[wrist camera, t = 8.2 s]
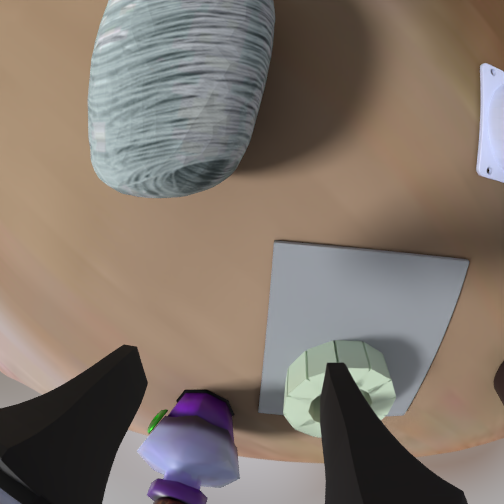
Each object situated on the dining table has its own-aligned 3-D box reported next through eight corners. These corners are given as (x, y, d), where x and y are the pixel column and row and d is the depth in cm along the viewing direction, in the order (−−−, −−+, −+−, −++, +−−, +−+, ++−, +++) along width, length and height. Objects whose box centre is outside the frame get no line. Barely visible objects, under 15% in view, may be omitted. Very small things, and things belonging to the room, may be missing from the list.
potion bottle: (160, 366, 24) (103, 478, 13) (258, 389, 24) (237, 518, 13) (163, 420, 28) (125, 512, 16) (243, 439, 27) (224, 540, 16)
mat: (466, 259, 18) (469, 261, 17) (402, 412, 24) (403, 415, 23) (274, 240, 19) (273, 242, 19) (258, 409, 25) (258, 412, 24)
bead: (399, 341, 20) (410, 368, 17) (369, 411, 23) (374, 436, 20) (292, 337, 21) (292, 365, 18) (280, 408, 24) (278, 435, 21)
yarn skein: (272, 232, 15) (92, 205, 7) (151, 192, 20) (15, 167, 11) (334, 16, 13) (252, -109, 5) (212, 24, 18) (116, -45, 9)
